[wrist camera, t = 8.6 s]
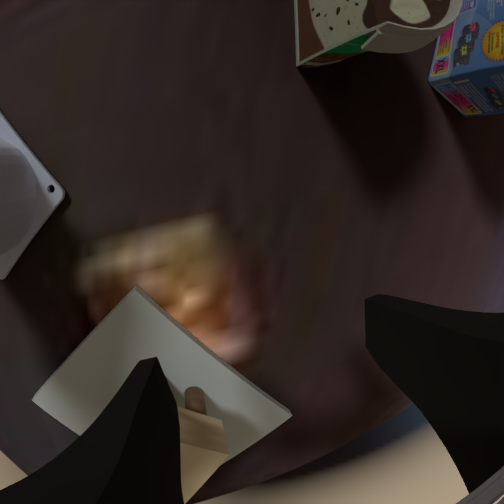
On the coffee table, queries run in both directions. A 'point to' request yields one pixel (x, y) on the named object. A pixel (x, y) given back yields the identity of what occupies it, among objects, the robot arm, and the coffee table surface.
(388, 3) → the food container
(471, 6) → the ink cartridge box
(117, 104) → the coffee table surface
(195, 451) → the beige cardboard carton
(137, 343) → the blue-grey board
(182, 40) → the coffee table surface
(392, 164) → the coffee table surface
